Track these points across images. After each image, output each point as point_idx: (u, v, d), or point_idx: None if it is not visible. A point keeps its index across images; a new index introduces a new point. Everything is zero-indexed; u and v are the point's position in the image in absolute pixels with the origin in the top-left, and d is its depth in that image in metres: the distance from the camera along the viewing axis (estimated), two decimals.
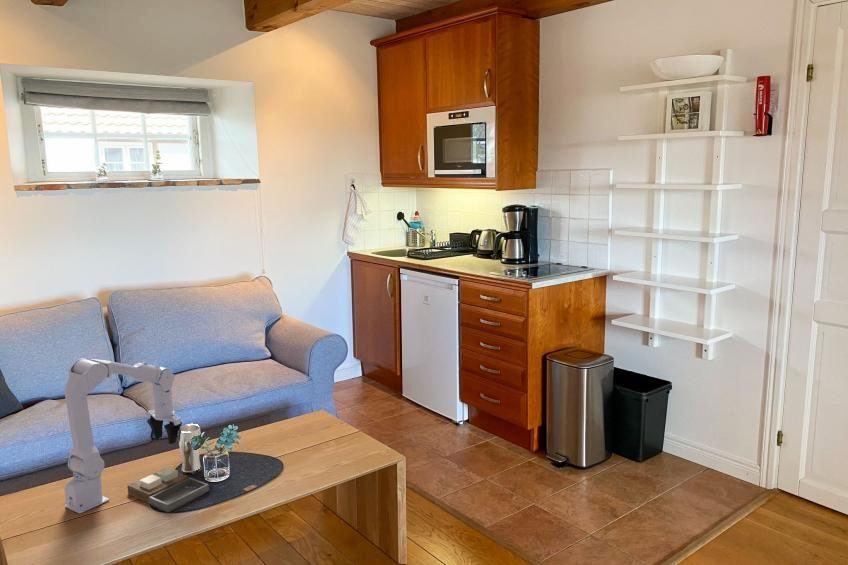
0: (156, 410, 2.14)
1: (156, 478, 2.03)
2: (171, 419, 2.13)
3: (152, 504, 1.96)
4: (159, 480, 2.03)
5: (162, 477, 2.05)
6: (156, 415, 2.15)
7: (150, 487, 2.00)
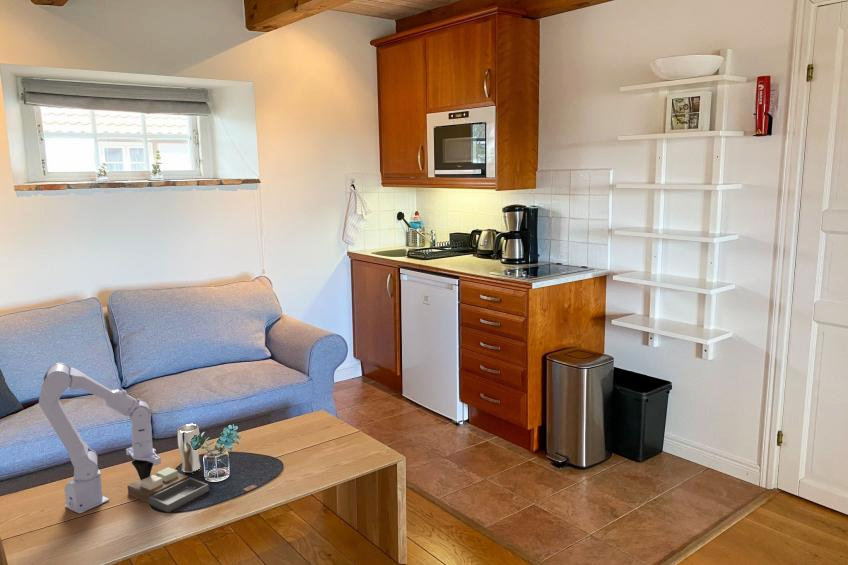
0: (134, 449, 2.00)
1: (157, 478, 2.02)
2: (150, 459, 1.99)
3: (152, 504, 1.96)
4: (160, 480, 2.02)
5: (162, 477, 2.05)
6: (134, 454, 2.00)
7: (151, 487, 2.00)
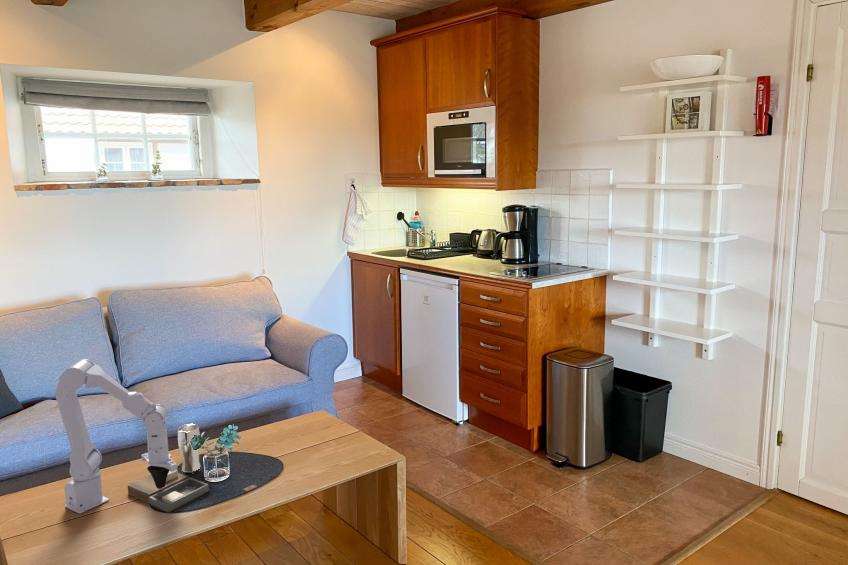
0: (150, 455, 1.96)
1: None
2: (167, 465, 1.95)
3: (152, 504, 1.96)
4: None
5: None
6: (150, 460, 1.96)
7: None
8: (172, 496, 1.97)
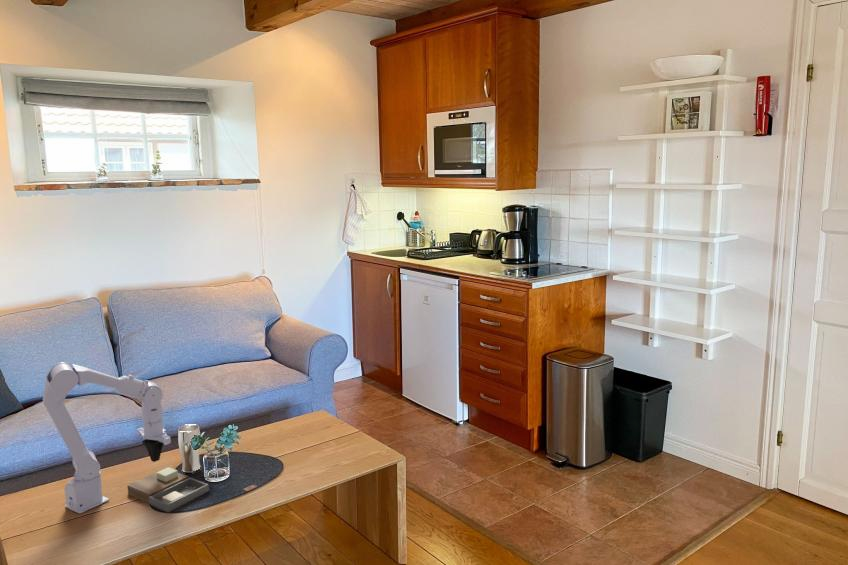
0: (145, 429, 2.03)
1: None
2: (161, 438, 2.02)
3: (152, 504, 1.96)
4: None
5: (162, 477, 2.05)
6: (145, 434, 2.04)
7: None
8: (172, 496, 1.97)
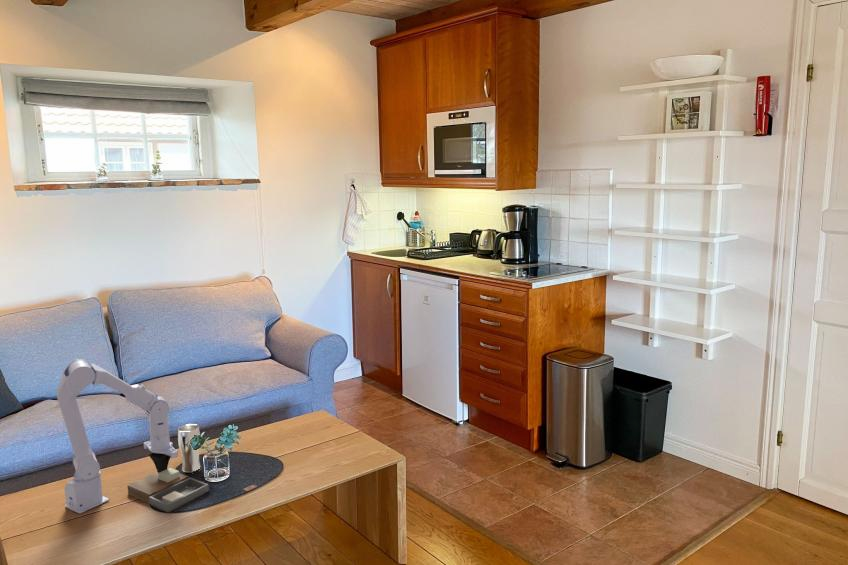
0: (152, 442, 2.04)
1: None
2: (168, 452, 2.03)
3: (152, 504, 1.96)
4: None
5: (164, 478, 2.05)
6: (152, 448, 2.05)
7: None
8: (172, 496, 1.97)
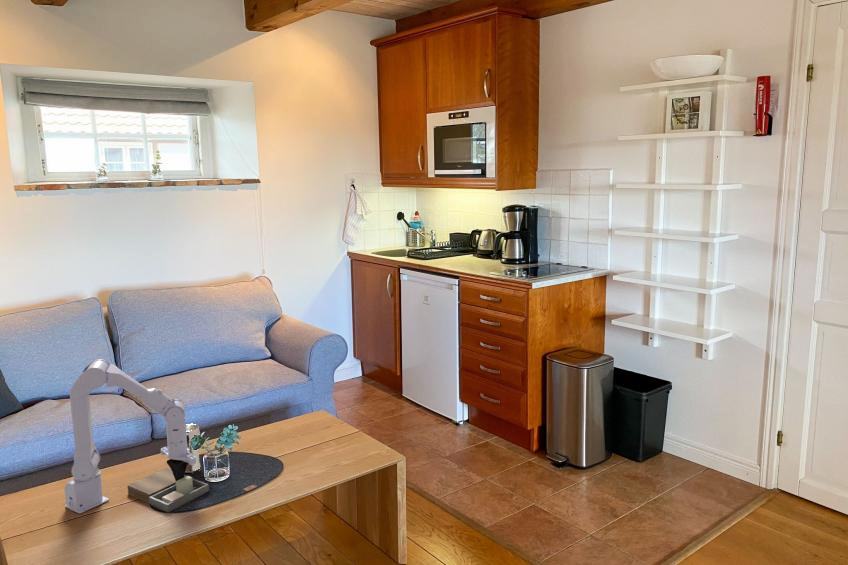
0: (170, 449, 2.00)
1: None
2: (186, 458, 1.99)
3: (152, 504, 1.96)
4: None
5: (178, 491, 2.01)
6: (170, 454, 2.00)
7: None
8: (172, 496, 1.97)
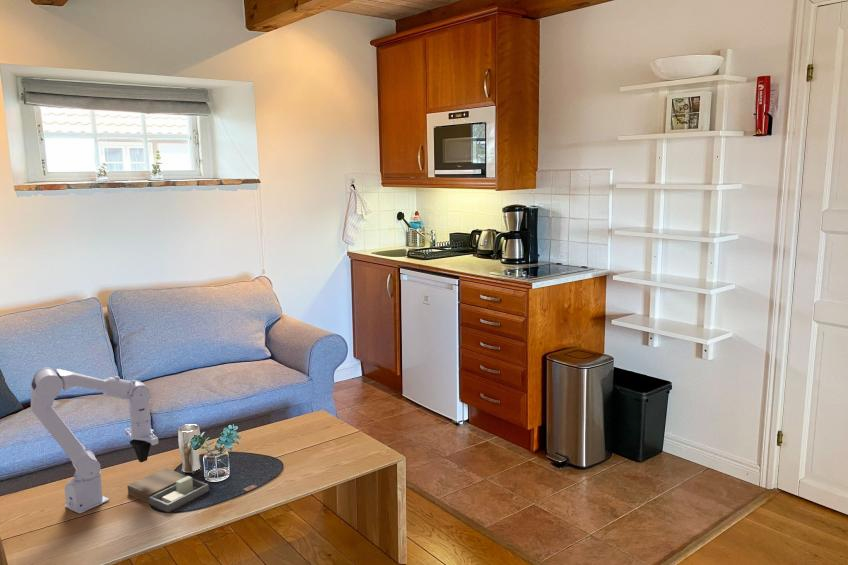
0: (132, 429, 2.01)
1: None
2: (148, 439, 2.00)
3: (152, 504, 1.96)
4: None
5: (178, 491, 2.01)
6: (132, 434, 2.02)
7: None
8: (172, 496, 1.97)
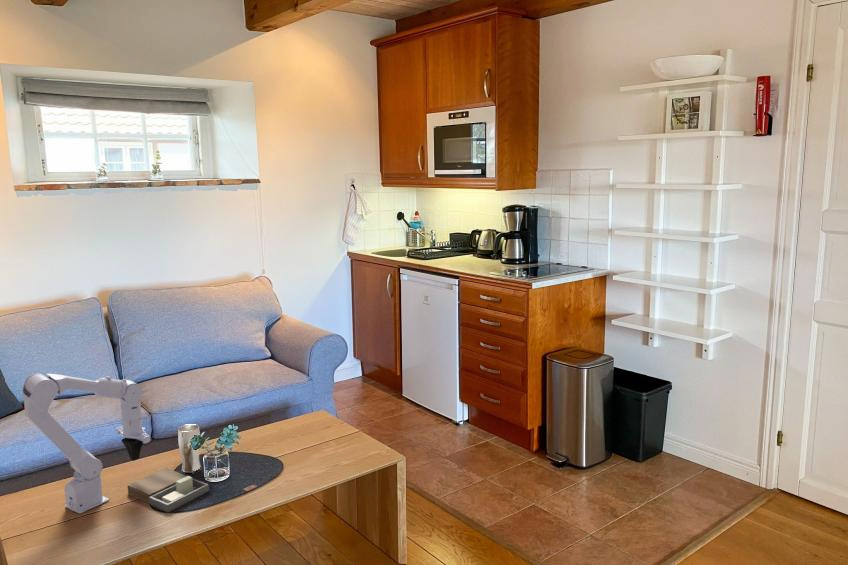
0: (124, 427, 2.02)
1: None
2: (140, 437, 2.01)
3: (152, 504, 1.96)
4: None
5: (178, 491, 2.01)
6: (124, 432, 2.02)
7: None
8: (172, 496, 1.97)
